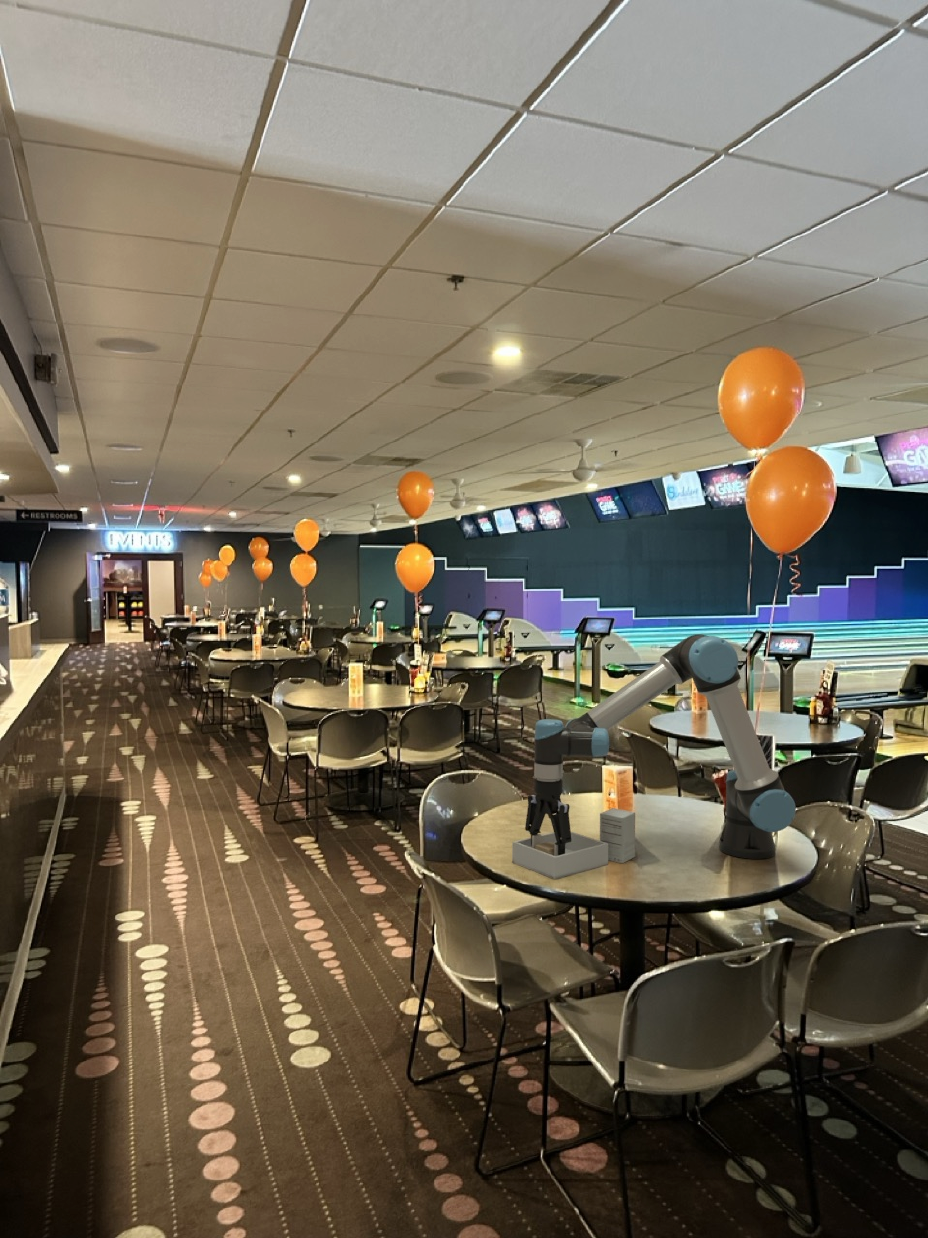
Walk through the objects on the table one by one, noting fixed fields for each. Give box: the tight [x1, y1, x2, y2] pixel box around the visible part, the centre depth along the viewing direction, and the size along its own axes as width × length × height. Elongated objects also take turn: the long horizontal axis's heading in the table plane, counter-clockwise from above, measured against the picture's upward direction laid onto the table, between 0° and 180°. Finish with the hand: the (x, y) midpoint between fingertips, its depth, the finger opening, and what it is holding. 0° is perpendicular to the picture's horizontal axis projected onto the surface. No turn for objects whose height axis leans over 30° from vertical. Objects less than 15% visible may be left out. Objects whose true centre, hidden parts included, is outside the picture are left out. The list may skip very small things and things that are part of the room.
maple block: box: [535, 842, 554, 856], centre depth 221 cm, size 5×5×5 cm
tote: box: [511, 831, 609, 880], centre depth 223 cm, size 17×20×6 cm
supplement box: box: [599, 807, 636, 864], centre depth 228 cm, size 7×7×13 cm
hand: (547, 863), depth 220 cm, fingers open, 8 cm apart
